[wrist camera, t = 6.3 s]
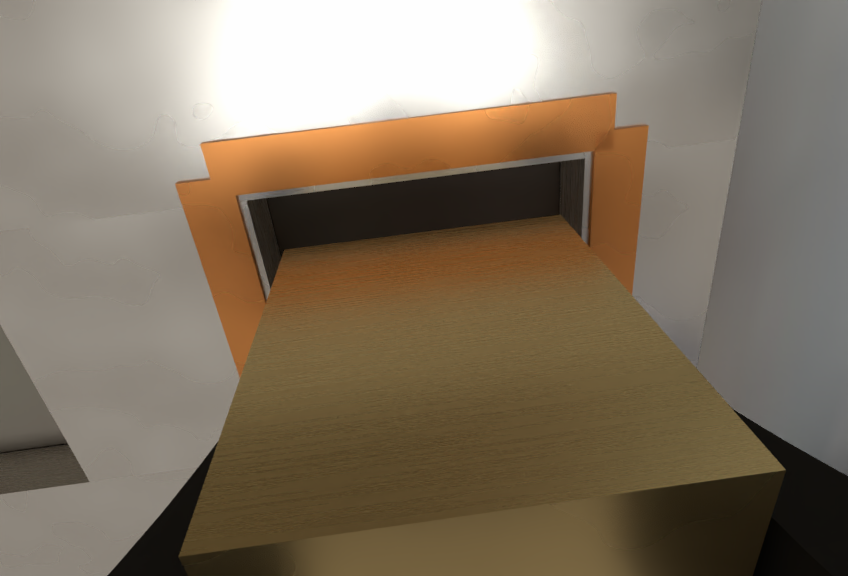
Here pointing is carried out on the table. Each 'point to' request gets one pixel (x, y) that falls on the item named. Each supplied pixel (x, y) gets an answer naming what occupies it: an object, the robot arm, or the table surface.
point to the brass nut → (474, 423)
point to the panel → (304, 173)
